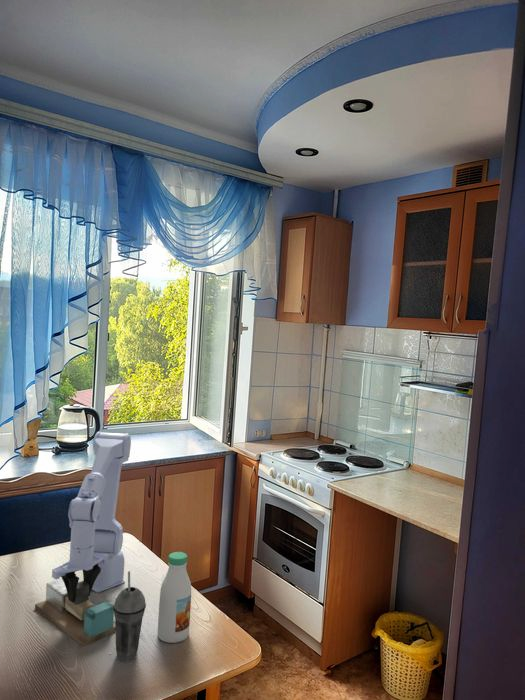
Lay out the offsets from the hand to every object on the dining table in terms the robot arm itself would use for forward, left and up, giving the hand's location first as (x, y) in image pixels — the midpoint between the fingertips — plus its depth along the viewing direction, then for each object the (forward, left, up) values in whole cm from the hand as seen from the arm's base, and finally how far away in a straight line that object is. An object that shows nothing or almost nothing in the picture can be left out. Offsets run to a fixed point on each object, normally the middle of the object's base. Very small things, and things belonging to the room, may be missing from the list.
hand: (79, 597), depth 132 cm
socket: (0, +9, -5) cm, 10 cm away
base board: (0, -1, -6) cm, 6 cm away
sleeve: (0, -8, -5) cm, 9 cm away
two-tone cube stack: (0, -3, -4) cm, 5 cm away
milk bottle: (-13, +22, -6) cm, 26 cm away
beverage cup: (0, +21, -6) cm, 21 cm away
